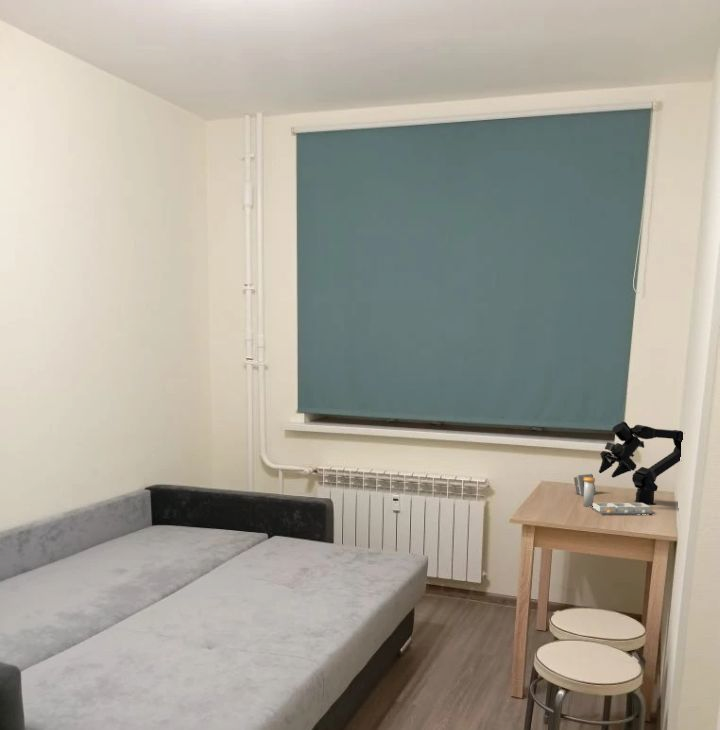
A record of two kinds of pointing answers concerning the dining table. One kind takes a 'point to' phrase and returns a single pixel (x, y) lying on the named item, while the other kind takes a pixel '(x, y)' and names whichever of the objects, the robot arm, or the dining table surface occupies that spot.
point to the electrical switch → (581, 483)
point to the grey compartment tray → (622, 508)
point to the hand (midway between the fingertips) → (605, 474)
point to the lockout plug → (588, 491)
